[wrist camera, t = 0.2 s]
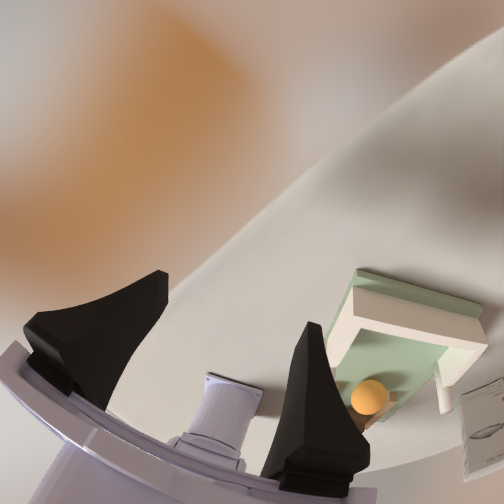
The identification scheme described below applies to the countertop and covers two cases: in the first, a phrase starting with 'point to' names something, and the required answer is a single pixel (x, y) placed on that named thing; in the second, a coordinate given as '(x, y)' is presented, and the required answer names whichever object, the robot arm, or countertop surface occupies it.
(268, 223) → the countertop surface
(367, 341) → the pitch
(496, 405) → the supplement box
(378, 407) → the ball
